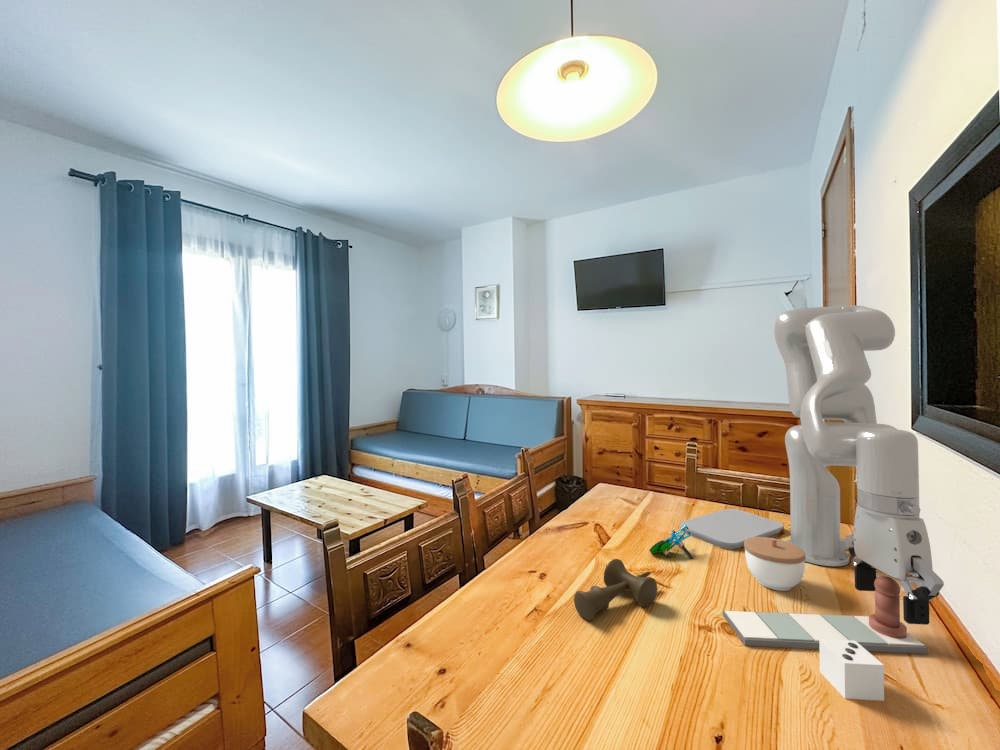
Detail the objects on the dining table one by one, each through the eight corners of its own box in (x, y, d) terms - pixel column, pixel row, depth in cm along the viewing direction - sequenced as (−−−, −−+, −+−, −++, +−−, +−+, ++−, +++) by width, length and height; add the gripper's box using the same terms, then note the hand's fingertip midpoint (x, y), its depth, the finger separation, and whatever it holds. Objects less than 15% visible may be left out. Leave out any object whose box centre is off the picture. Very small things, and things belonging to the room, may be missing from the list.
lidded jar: (744, 566, 92) (743, 525, 92) (802, 578, 87) (801, 535, 87) (744, 588, 83) (744, 543, 83) (809, 603, 78) (809, 555, 78)
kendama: (564, 609, 78) (631, 576, 89) (601, 637, 70) (670, 597, 81) (563, 579, 78) (631, 549, 89) (600, 604, 70) (670, 568, 81)
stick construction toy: (681, 535, 105) (688, 518, 100) (701, 558, 100) (709, 543, 95) (643, 554, 102) (648, 538, 97) (662, 579, 97) (669, 564, 92)
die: (855, 673, 60) (855, 639, 60) (884, 701, 55) (883, 664, 55) (819, 671, 60) (819, 638, 60) (844, 699, 55) (844, 662, 55)
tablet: (674, 531, 114) (674, 523, 114) (731, 514, 126) (731, 507, 126) (730, 554, 99) (730, 545, 99) (788, 532, 111) (788, 524, 111)
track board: (884, 622, 71) (884, 615, 71) (928, 654, 63) (928, 646, 63) (723, 615, 74) (722, 609, 74) (745, 645, 66) (744, 638, 66)
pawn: (890, 621, 70) (890, 570, 70) (915, 639, 65) (914, 585, 65) (861, 620, 70) (861, 570, 70) (884, 638, 66) (883, 584, 66)
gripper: (966, 521, 58) (969, 640, 58) (869, 489, 76) (871, 580, 75) (910, 520, 59) (912, 637, 59) (826, 488, 76) (828, 579, 76)
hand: (889, 605), depth 67 cm, fingers open, 9 cm apart
